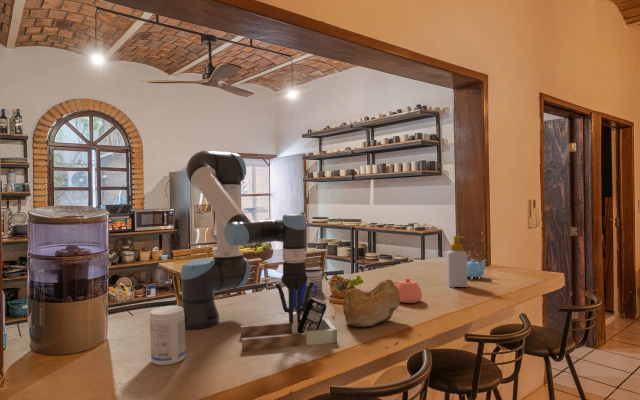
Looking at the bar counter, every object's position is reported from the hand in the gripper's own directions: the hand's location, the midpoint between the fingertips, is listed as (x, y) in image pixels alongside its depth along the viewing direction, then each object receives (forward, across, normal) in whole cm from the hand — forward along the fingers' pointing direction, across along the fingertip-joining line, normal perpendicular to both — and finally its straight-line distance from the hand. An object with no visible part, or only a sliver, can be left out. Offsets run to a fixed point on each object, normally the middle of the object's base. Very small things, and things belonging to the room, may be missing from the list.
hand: (294, 332), depth 140 cm
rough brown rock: (+2, +30, +14) cm, 33 cm away
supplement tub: (+3, -38, -8) cm, 39 cm away
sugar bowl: (+2, +54, +36) cm, 65 cm away
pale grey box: (+2, +8, +1) cm, 8 cm away
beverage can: (+1, +4, 0) cm, 4 cm away
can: (+2, +17, +64) cm, 66 cm away
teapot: (0, +110, +73) cm, 132 cm away
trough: (+2, -7, 0) cm, 8 cm away
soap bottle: (+1, +91, +57) cm, 108 cm away
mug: (+2, +10, +40) cm, 41 cm away
